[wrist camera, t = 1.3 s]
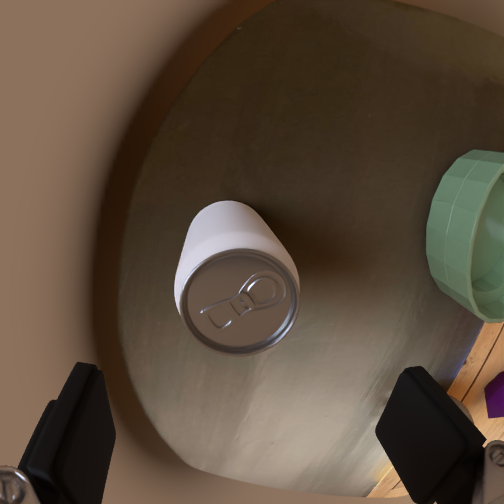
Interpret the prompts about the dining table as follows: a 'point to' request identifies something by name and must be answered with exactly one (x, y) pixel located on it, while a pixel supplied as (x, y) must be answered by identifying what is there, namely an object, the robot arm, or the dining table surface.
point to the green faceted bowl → (470, 234)
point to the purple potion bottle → (495, 397)
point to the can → (235, 282)
